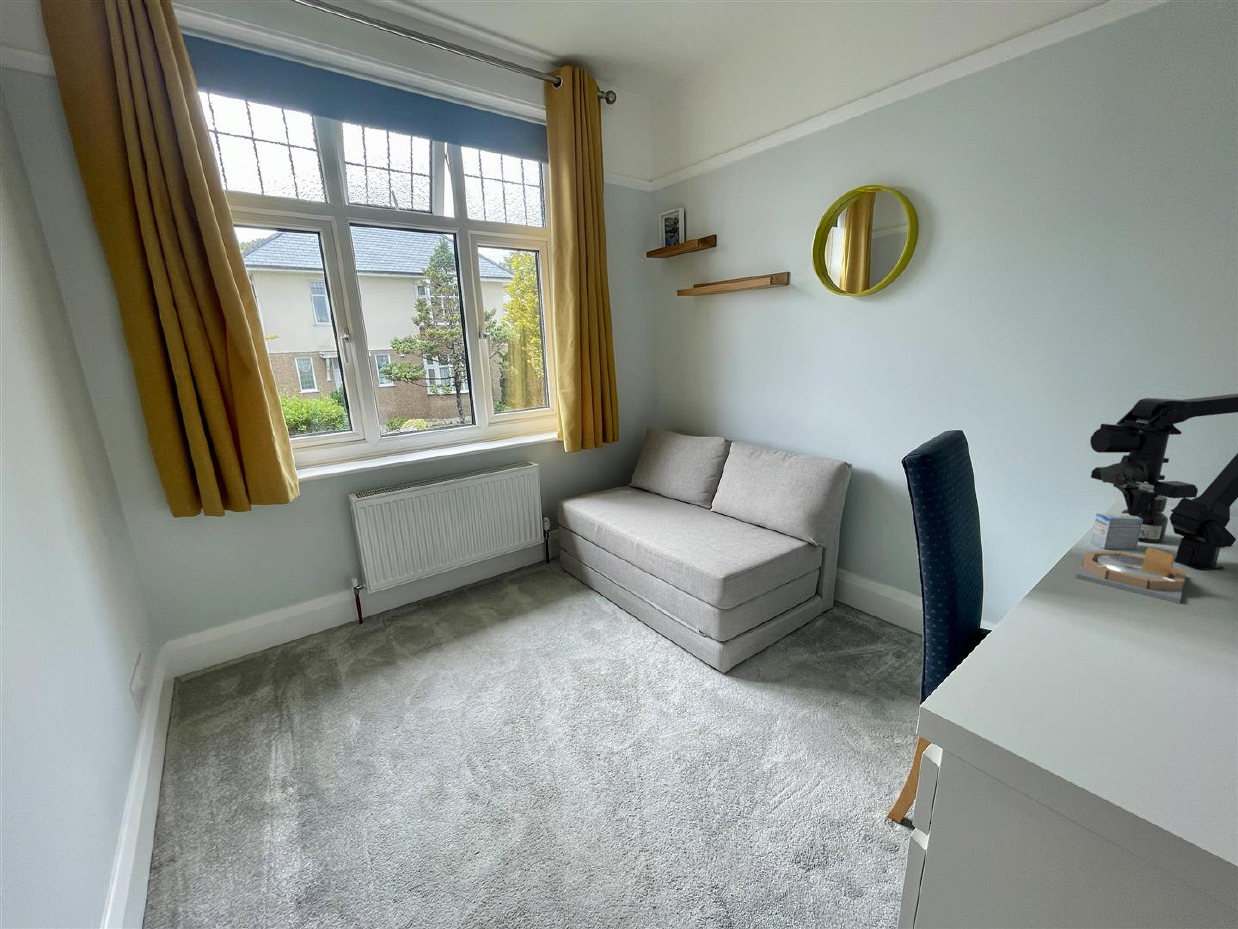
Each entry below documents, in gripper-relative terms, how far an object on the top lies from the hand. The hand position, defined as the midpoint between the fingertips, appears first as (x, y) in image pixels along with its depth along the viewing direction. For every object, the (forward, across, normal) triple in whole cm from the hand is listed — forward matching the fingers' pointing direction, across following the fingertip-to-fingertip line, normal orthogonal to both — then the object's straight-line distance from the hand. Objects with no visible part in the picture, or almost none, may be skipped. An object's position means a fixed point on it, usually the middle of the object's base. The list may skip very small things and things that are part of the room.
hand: (1132, 515), depth 118 cm
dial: (+11, +8, -7) cm, 15 cm away
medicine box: (+12, -9, +7) cm, 17 cm away
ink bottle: (+12, -14, +20) cm, 27 cm away
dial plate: (+12, +8, -7) cm, 16 cm away
